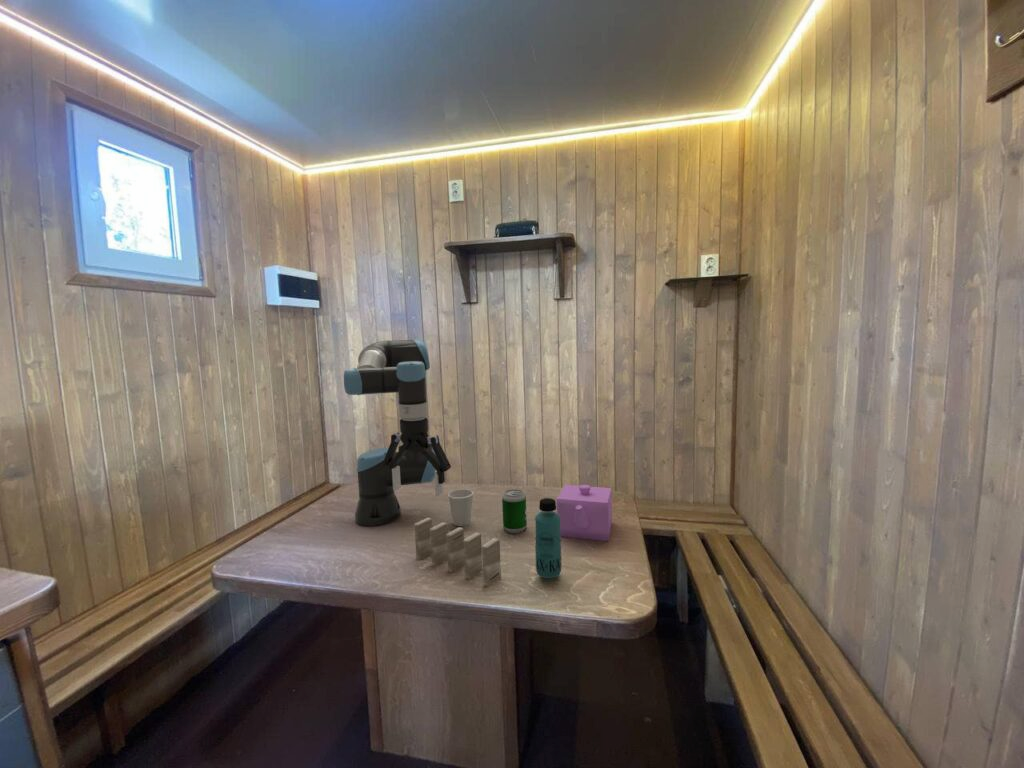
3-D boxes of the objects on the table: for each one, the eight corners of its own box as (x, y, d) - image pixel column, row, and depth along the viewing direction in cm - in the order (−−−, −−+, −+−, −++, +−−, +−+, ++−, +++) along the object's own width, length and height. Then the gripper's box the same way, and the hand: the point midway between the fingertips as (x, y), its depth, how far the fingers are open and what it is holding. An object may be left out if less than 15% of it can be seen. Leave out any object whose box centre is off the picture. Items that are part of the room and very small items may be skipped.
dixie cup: (460, 530, 134) (459, 499, 133) (444, 523, 140) (442, 493, 139) (479, 521, 140) (478, 492, 139) (463, 515, 146) (462, 487, 145)
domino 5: (483, 585, 103) (481, 546, 102) (495, 575, 107) (494, 537, 106) (488, 587, 102) (487, 547, 101) (501, 577, 106) (499, 539, 105)
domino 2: (431, 564, 114) (429, 529, 113) (444, 556, 118) (443, 522, 117) (435, 566, 113) (433, 530, 112) (448, 558, 117) (447, 523, 116)
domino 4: (465, 577, 107) (463, 540, 106) (477, 568, 111) (476, 532, 110) (469, 579, 106) (468, 541, 105) (482, 570, 110) (481, 533, 109)
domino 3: (447, 571, 110) (446, 534, 109) (460, 562, 114) (459, 527, 113) (452, 572, 109) (450, 535, 108) (465, 564, 113) (463, 528, 112)
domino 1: (416, 558, 117) (414, 523, 116) (429, 551, 121) (427, 517, 120) (420, 560, 116) (418, 525, 115) (433, 552, 120) (431, 518, 119)
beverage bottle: (534, 571, 109) (531, 496, 107) (559, 569, 109) (557, 494, 107) (537, 585, 102) (535, 505, 100) (564, 583, 103) (563, 504, 101)
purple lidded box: (552, 547, 121) (550, 500, 120) (568, 513, 145) (567, 473, 144) (605, 553, 117) (605, 504, 115) (613, 517, 140) (612, 476, 139)
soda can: (524, 535, 129) (523, 497, 128) (500, 533, 131) (499, 496, 130) (528, 524, 137) (527, 488, 135) (506, 523, 138) (504, 487, 137)
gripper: (367, 418, 117) (372, 492, 119) (448, 423, 109) (451, 501, 111) (383, 413, 124) (388, 482, 127) (460, 417, 116) (463, 491, 118)
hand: (417, 491), depth 119 cm, fingers open, 13 cm apart
